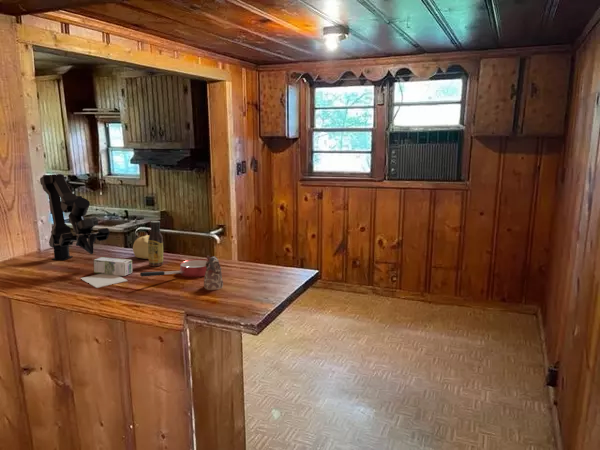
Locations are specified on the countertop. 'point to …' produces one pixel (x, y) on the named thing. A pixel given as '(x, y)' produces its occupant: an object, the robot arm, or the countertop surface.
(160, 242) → the sauce bottle
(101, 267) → the syrup box
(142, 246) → the tan rounded lump
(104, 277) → the mat
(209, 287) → the figurine
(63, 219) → the robot arm
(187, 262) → the frying pan
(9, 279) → the countertop surface
